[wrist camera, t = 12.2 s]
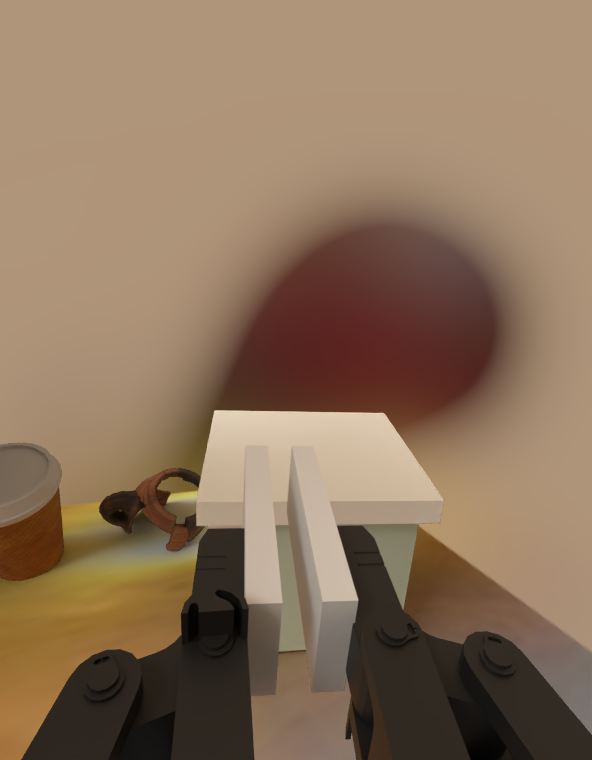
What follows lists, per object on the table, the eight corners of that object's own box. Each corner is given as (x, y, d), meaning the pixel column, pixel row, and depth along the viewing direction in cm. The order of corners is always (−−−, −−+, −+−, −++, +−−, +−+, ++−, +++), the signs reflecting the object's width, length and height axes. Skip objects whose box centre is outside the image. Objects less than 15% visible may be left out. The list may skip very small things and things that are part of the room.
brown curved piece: (184, 496, 59) (207, 458, 55) (200, 564, 54) (228, 528, 49) (87, 501, 52) (106, 458, 48) (94, 579, 46) (116, 539, 42)
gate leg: (249, 653, 37) (253, 522, 33) (248, 633, 39) (252, 506, 35) (397, 643, 39) (419, 517, 35) (390, 623, 41) (410, 502, 37)
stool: (199, 669, 36) (196, 501, 31) (215, 538, 51) (214, 410, 46) (413, 659, 38) (444, 500, 33) (367, 536, 53) (384, 413, 48)
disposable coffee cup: (-47, 589, 43) (-95, 504, 37) (18, 513, 51) (-11, 432, 45) (45, 608, 42) (14, 525, 36) (97, 527, 50) (79, 448, 44)
